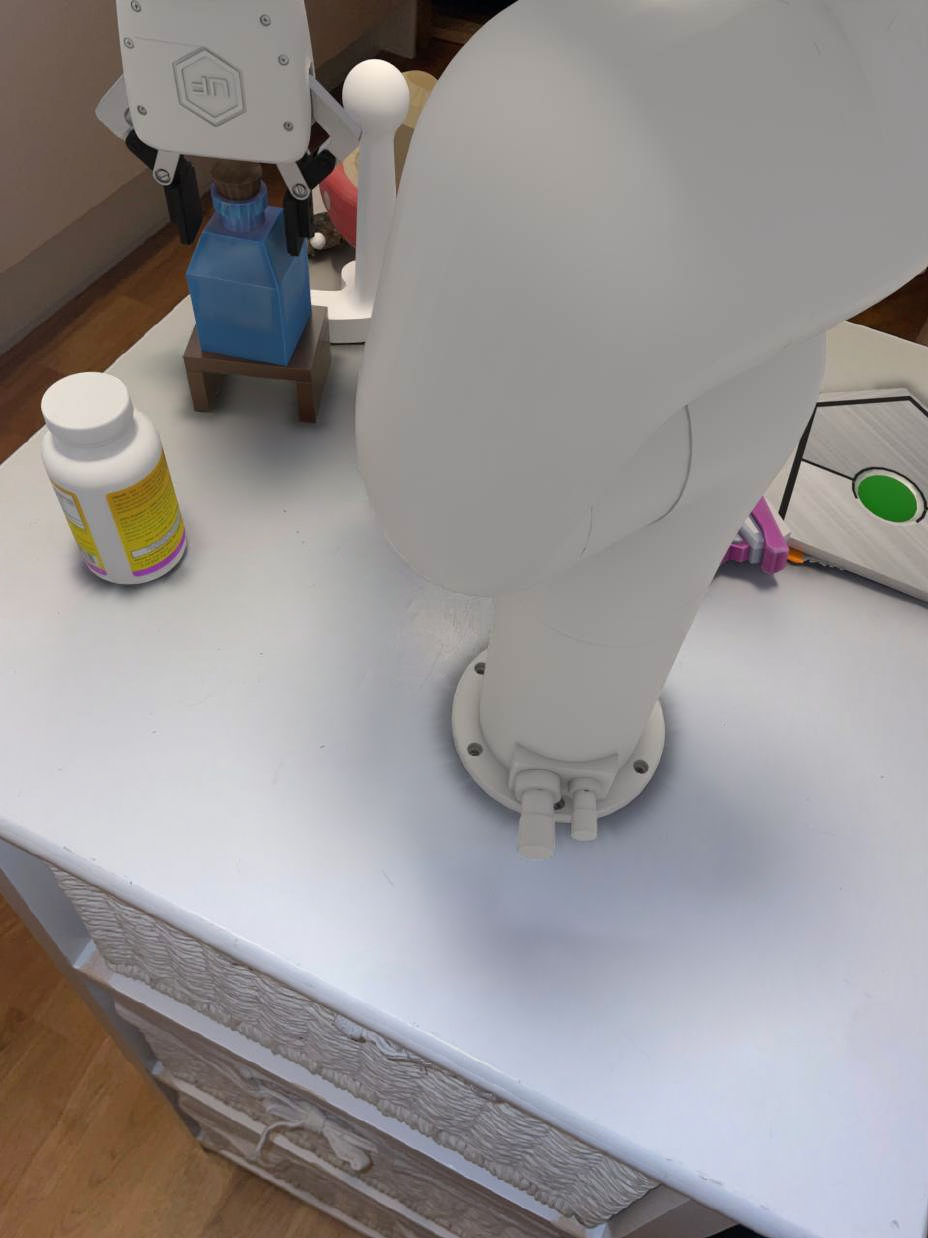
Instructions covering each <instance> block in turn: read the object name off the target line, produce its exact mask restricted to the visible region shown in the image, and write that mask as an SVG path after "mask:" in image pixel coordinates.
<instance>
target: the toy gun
mask: <svg viewBox="0 0 928 1238" xmlns="http://www.w3.org/2000/svg"><path fill="white" fill-rule="evenodd" d="M790 535H791V531H790V529H789V528H788V526H787V525H786V524H785V522H784V521H783V519H782V518H781V517H780V515H779V514H778V512H777V511H776V510H775V508H774V507H773V506H772V504H771V503H770V501H769V500H768V499H766V498H764V496H762V497H761V499H760V500H759V502H758V503H757V505H756V506H755V507H754V509H753V510H752V512H751V513H750V514H749V516H748V517H747V519H746V520H745V522H744V523H743V525H742V526H741V528H740V529H739V531H738V533H737V534H736V536H735V538H734V539H733V541H732V543H731V545H730V546H729V548H728V550H727V552H726V554H725V556H724V557H723V559H722V561H721V563H720V565H719V567H720V566H721V565H723V564H725V563H726V562H727V561H729V560H732V561H734V562H739V563H743V562H745V561H748V562H749V563H750V564H759V563H760V567H761V570H762V571H763V572H765V573H766V574H768V575H772V574H777V573H779V572H781V571H782V570H784V569H785V568H786V565H787V560H788V559H787V557H788V552H789V548H788V545H787V543H786V541H787V540H788V539H789V538H790Z"/></svg>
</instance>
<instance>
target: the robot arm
mask: <svg viewBox="0 0 928 1238" xmlns="http://www.w3.org/2000/svg"><path fill="white" fill-rule="evenodd" d="M115 4H116V5H115V6H116V15H117V16H116V17H117V28H118V38H119V47H120V48H119V49H120V55H121V63H122V70H123V73H122V74H121V75H120V77H119V78H118V79H117V80H116V81H115V82H114V84H113V85H112V86H111V87H110V88H109V89H108V90H107V92H105V94H104V95H103V96H102V98H101V99H100V101H99V102H98V104H97V106H96V107H95V109H94V114H95V116H96V118H97V119H98V120H99V121H100V122H101V123H102V124H103V125H104V126H105V127H107V129H109V130H110V131H111V132H112V133H113V134H114V135H115V136H116V137H117V138H118V139H120V140H123V141H124V142H125V143H124V144H125V146H126V148H127V149H128V150H129V151H130V152H131V154H132V155H134V156H135V157H136V158H137V159H138V160H140V162H142V163H143V164H144V165H145V166H146V167H148V169H150V170H151V171H152V177H153V179H154V180H155V181H156V182H157V183H158V184H159V185H162V187H163V191H164V196H165V201H166V206H167V211H168V216H169V221H170V223H171V224H173V225H176V227H177V231H178V236H179V242H180V244H181V245H185V246H191V245H192V244H194V243H195V240H196V238H197V236H198V233H199V230H200V228H201V226H202V223H203V221H204V215H203V210H202V203H201V202H202V201H201V197H200V191H199V185H198V180H197V174H196V168H195V166H193V164H192V161H191V160H187V158H185V155H188V156H196V157H202V158H203V157H204V158H212V159H231V160H240V161H250V162H258V163H259V164H260V163H262V164H274V165H276V167H277V169H278V171H279V173H280V176H281V177H282V179H283V181H284V183H285V185H286V190H285V192H284V196H283V198H282V209H283V212H284V223H285V233H286V244H287V253H289V254H290V256H296V257H299V255H300V252H301V249H302V245H303V242H304V239H305V238H312V235H313V231H314V215H315V214H314V199H313V198H314V197H313V190H314V189H315V188H316V187H317V186H319V184H320V183H321V182H322V181H323V180H324V179H325V178H326V177H327V176H328V175H330V174H331V173H332V172H333V170H334V168H335V167H336V166H337V165H338V164H339V163H341V162H342V161H343V160H344V159H345V158H346V157H348V156H349V155H350V154H351V153H352V152H353V151H354V150H355V149H356V148H357V147H358V146H359V143H360V139H361V135H362V129H361V127H360V125H359V124H358V123H357V122H356V121H355V120H354V119H353V118H352V117H351V116H350V115H349V114H348V113H347V112H346V111H345V110H344V106H343V105H341V104H340V103H339V102H338V101H337V100H336V99H335V98H334V96H332V94H330V92H329V91H327V89H325V87H324V86H323V85H322V84H321V83H320V82H319V81H318V80H317V79H316V72H315V63H314V56H313V55H314V54H313V48H312V41H311V33H310V27H309V22H308V16H307V9H306V5H305V0H115ZM315 123H317V124H318V125H319V126H320V127H321V128H322V129H323V130H324V131H326V133H327V134H328V136H329V137H328V138H327V139H326V140H325V141H322V143H320V144H319V145H318V146H317V147H316V148H315V149H313V150H312V152H311V151H310V149H309V145H310V140H311V132H312V130H311V129H312V126H313V125H314V124H315ZM927 267H928V0H516V1H515V2H514V3H512V4H511V5H508V6H507V7H506V8H504V9H503V10H501V11H500V12H498V13H497V14H496V15H494V16H493V17H492V18H491V19H489V20H488V21H487V22H486V23H485V24H483V26H481V27H480V28H479V29H478V30H477V31H476V32H475V33H474V34H472V36H471V37H470V38H469V39H468V41H467V42H465V44H464V45H463V46H462V47H461V48H460V49H459V51H458V52H457V53H456V54H455V56H453V58H452V59H451V61H450V62H449V64H448V65H447V66H446V68H445V69H444V71H443V72H442V74H441V75H440V77H439V78H438V79H437V83H436V84H435V86H434V87H433V89H432V91H431V93H430V95H429V97H428V99H427V101H426V103H425V105H424V107H423V109H422V111H421V113H420V116H419V118H418V121H417V124H416V127H415V129H414V132H413V135H412V138H411V142H410V146H409V149H408V153H407V157H406V161H405V164H404V168H403V172H402V176H401V180H400V184H399V189H398V194H397V198H396V203H395V208H394V212H393V217H392V222H391V226H390V231H389V236H388V240H387V245H386V250H385V254H384V259H383V263H382V268H381V273H380V277H379V282H378V287H377V291H376V296H375V301H374V305H373V310H372V315H371V319H370V324H369V329H368V333H367V338H366V342H364V348H363V352H362V358H361V363H360V367H359V374H358V381H357V382H358V383H357V388H356V396H355V408H354V409H355V410H354V411H355V415H354V416H355V418H354V420H355V421H354V422H355V423H354V424H355V429H354V430H355V431H354V432H355V447H356V455H357V461H358V467H359V471H360V476H361V481H362V484H363V488H364V493H365V495H366V498H367V501H368V503H369V506H370V508H371V511H372V514H373V515H374V517H375V520H376V522H377V524H378V526H379V527H380V529H381V531H382V532H383V534H384V535H385V538H386V539H387V541H388V542H389V543H390V545H391V546H392V548H393V549H394V551H396V553H397V554H398V555H399V556H400V557H401V558H402V559H403V561H405V563H406V564H408V565H409V566H410V567H411V568H412V569H413V570H415V572H417V573H418V574H419V575H421V576H422V577H424V578H426V580H428V581H430V582H432V583H434V584H436V585H437V586H439V587H441V588H443V589H445V590H448V591H451V592H453V593H456V594H459V595H463V596H467V597H474V598H475V597H476V598H486V599H487V598H491V599H492V598H495V602H494V608H493V615H492V621H491V627H490V633H489V640H488V645H487V646H488V647H487V648H485V649H484V650H483V651H481V652H480V653H479V654H478V655H477V656H476V657H474V659H472V661H471V662H469V664H468V665H467V667H466V668H465V670H464V672H463V674H462V675H461V677H460V679H459V681H458V683H457V687H456V689H455V693H454V695H453V700H452V707H451V733H452V738H453V742H454V747H455V749H456V752H457V754H458V756H459V758H460V762H461V763H462V765H463V767H464V768H465V770H466V772H467V773H468V774H469V776H470V777H471V778H472V779H473V782H474V783H476V784H477V785H478V786H479V787H480V788H481V789H482V790H483V791H484V792H485V793H486V795H488V796H489V797H490V798H492V799H494V800H495V801H496V802H498V803H500V804H501V805H503V806H504V807H505V808H507V809H509V810H512V811H514V812H516V813H518V814H520V817H519V819H518V835H517V854H519V856H521V857H523V858H526V859H530V860H546V859H547V860H548V859H549V858H552V857H553V856H554V855H555V850H556V849H555V848H556V847H555V844H556V823H561V824H562V823H564V824H565V823H566V824H570V825H571V826H570V836H571V838H572V839H574V840H577V841H580V842H591V841H594V840H595V839H597V838H598V819H600V818H603V817H605V816H609V815H612V814H614V813H615V812H617V811H619V810H621V809H622V808H624V807H626V806H627V805H629V804H630V803H631V802H632V801H633V800H634V799H635V798H637V797H638V796H639V795H640V794H642V792H643V790H644V789H645V788H646V786H647V785H648V784H649V783H650V781H651V779H652V778H653V776H654V775H655V772H656V770H657V768H658V766H659V764H660V761H661V758H662V755H663V751H664V748H665V740H666V739H665V738H666V725H665V724H666V723H665V718H664V717H665V716H664V711H663V707H662V705H661V703H660V700H659V698H660V697H659V696H660V695H661V692H662V691H663V688H664V686H665V683H666V681H667V679H668V677H669V675H670V673H671V670H672V668H673V666H674V663H675V662H676V659H677V657H678V655H679V653H680V650H681V648H682V646H683V644H684V642H685V639H686V637H687V635H688V633H689V630H690V628H691V626H692V624H693V621H694V619H695V617H696V615H697V614H698V613H697V612H698V611H699V609H700V607H701V605H702V603H703V601H704V600H705V597H706V595H707V593H708V591H709V588H710V586H711V584H712V582H713V580H714V579H715V578H714V577H715V575H716V573H717V571H718V569H719V567H720V566H721V565H720V563H721V561H722V559H723V557H724V556H725V554H726V552H727V550H728V548H729V546H730V545H731V543H732V541H733V539H734V538H735V536H736V534H737V533H738V531H739V529H740V528H741V526H742V525H743V523H744V522H745V520H746V519H747V517H748V516H749V514H750V513H751V512H752V510H753V509H754V507H755V506H756V505H757V503H758V502H759V500H760V499H761V497H762V496H763V495H764V493H765V492H766V490H767V489H768V488H769V486H770V485H771V483H772V482H773V480H774V479H775V478H776V476H777V475H778V473H779V472H780V470H781V469H782V468H783V466H784V465H785V463H786V462H787V460H788V458H789V457H790V455H791V454H792V452H793V450H794V449H795V447H796V445H797V444H798V442H799V440H800V439H801V437H802V434H803V432H804V430H805V428H806V426H807V424H808V422H809V420H810V418H811V415H812V413H813V411H814V408H815V405H816V402H817V400H818V397H819V393H821V390H822V385H823V380H824V375H825V368H826V362H827V361H826V360H827V333H826V331H828V330H831V329H833V328H836V327H837V326H838V325H840V324H842V323H844V322H846V321H848V320H850V319H852V318H853V317H855V316H858V315H859V314H860V313H863V312H864V311H867V309H869V308H871V307H873V306H875V305H876V304H878V303H880V302H881V301H884V299H886V298H888V297H889V296H891V295H892V294H893V293H896V292H897V291H898V290H900V289H901V288H902V287H903V286H905V285H906V284H907V283H909V282H910V281H911V280H913V279H914V278H915V277H916V276H918V275H919V274H920V273H922V272H923V271H924V270H926V269H927ZM719 565H720V566H719ZM472 754H475V755H472ZM638 771H639V772H638ZM555 806H556V807H557V808H558V809H556V808H555Z"/></svg>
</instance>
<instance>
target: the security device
mask: <svg viewBox="0 0 928 1238" xmlns="http://www.w3.org/2000/svg"><path fill="white" fill-rule="evenodd" d="M763 496H764V498H766V499H768V500H769V501H770V503H771V504H772V506H773V507H774V508H775V510H776V511H777V512H778V514H779V515H780V517H781V518H782V519H783V521H784V522H785V524H786V525H787V526H788V528H789V529H790V531H791V535H790V538H789V539H788V540H787V541H786V543H787V545H788V546H789V547H791V548H794V549H796V550H798V551H801V552H803V553H806V554H808V555H811V556H813V557H816V558H818V559H821V560H824V561H827V562H830V563H833V564H836V565H838V566H841V567H844V568H847V570H846V571H848V572H851V573H853V574H856V575H858V576H861V577H863V578H865V579H868V580H870V581H873V582H876V583H878V584H880V585H883V586H885V587H888V588H891V589H893V590H896V591H897V592H901V593H902V594H906V595H908V596H910V597H913V598H915V599H918V600H920V601H922V602H926V603H927V604H928V407H927V406H926V405H925V403H923V402H921V401H920V400H919V399H918V398H917V397H916V396H915V395H914V394H913V393H912V392H910V391H909V390H908V389H907V388H906V387H898V388H896V387H895V388H882V389H867V390H849V391H834V392H833V391H832V392H831V391H830V392H820V393H819V397H818V400H817V402H816V405H815V408H814V411H813V413H812V415H811V418H810V420H809V422H808V424H807V426H806V428H805V430H804V432H803V434H802V437H801V439H800V440H799V442H798V444H797V445H796V447H795V449H794V450H793V452H792V454H791V455H790V457H789V458H788V460H787V462H786V463H785V465H784V466H783V468H782V469H781V470H780V472H779V473H778V475H777V476H776V478H775V479H774V480H773V482H772V483H771V485H770V486H769V488H768V489H767V490H766V492H765V493H764V495H763Z"/></svg>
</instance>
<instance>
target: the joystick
mask: <svg viewBox="0 0 928 1238" xmlns="http://www.w3.org/2000/svg"><path fill="white" fill-rule="evenodd" d="M401 73H402V72H401V71H400V70H399V69H398V68H397V67H396V66H395V65H393V64H391V62H389V61H386V60H382V59H377V58H373V59H366V60H364V61H361V62H359V63H357V64H356V65H355V66H354V67H353V68H352V69H351V70H350V71H349V73H348V74H347V76H346V78H345V80H344V83H343V86H342V94H341V95H342V96H341V99H342V107H343V109H344V110H345V111H346V112H347V113H348V114H349V115H350V116H351V117H352V118H353V119H354V120H355V121H356V122H357V123H358V124H359V125H360V127H361V129H362V135H361V139H360V143H359V171H358V202H357V232H356V248H355V260H352V261H349V262H348V263H346V264H345V265H344V266H343V267H342V269H341V274H340V275H341V290H319V289H310V294H311V305H316V306H326V307H328V321H329V336H330V344H351V343H352V344H353V343H365V342H366V338H367V333H368V329H369V324H370V319H371V315H372V310H373V305H374V301H375V296H376V291H377V287H378V282H379V277H380V273H381V268H382V263H383V259H384V254H385V250H386V245H387V240H388V236H389V231H390V226H391V222H392V217H393V212H394V208H395V203H396V183H395V163H394V135H395V132H396V130H397V129H398V127H399V126H400V125H401V124H402V123H403V121H404V120H405V118H406V116H407V113H408V110H409V104H410V94H409V89H408V85H407V83H406V80H405V79H404V77H403V75H402V74H401Z"/></svg>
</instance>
